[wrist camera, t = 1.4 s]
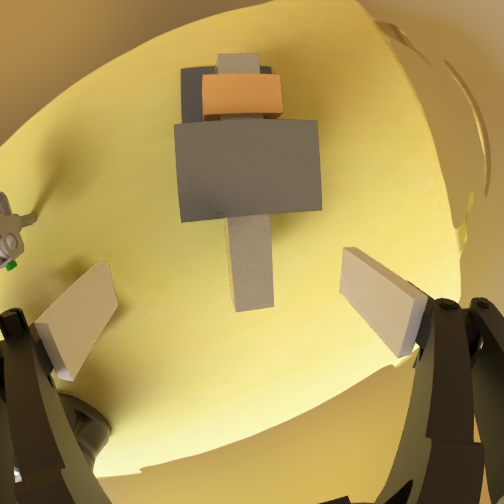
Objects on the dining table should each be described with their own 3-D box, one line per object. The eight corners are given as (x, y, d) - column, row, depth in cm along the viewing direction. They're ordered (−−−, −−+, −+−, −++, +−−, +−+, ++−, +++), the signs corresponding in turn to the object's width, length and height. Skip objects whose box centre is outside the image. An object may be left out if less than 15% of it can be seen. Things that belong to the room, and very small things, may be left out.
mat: (276, 148, 34) (277, 147, 33) (183, 154, 32) (183, 153, 31) (270, 67, 31) (270, 66, 30) (181, 70, 29) (180, 69, 28)
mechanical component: (28, 183, 28) (-13, 186, 18) (52, 245, 31) (14, 265, 21) (16, 193, 27) (-25, 199, 18) (39, 254, 30) (2, 275, 21)
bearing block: (279, 200, 35) (321, 210, 23) (188, 208, 33) (181, 222, 21) (276, 140, 33) (316, 120, 21) (183, 146, 31) (174, 124, 19)
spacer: (270, 122, 26) (283, 112, 22) (203, 125, 25) (204, 114, 21) (268, 89, 25) (279, 74, 21) (201, 90, 24) (202, 74, 20)
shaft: (265, 292, 32) (274, 306, 28) (231, 296, 31) (235, 312, 27) (250, 68, 25) (258, 54, 21) (214, 69, 24) (217, 54, 20)
